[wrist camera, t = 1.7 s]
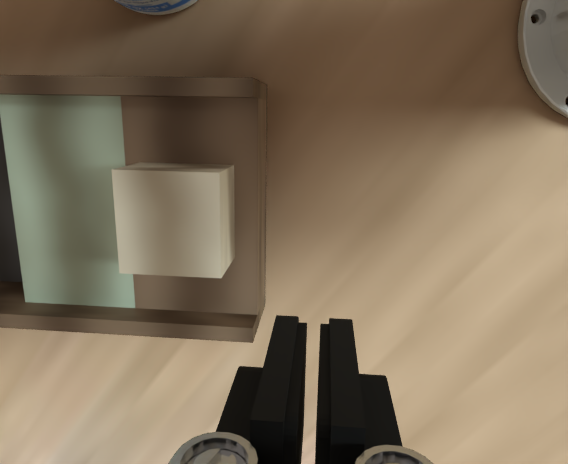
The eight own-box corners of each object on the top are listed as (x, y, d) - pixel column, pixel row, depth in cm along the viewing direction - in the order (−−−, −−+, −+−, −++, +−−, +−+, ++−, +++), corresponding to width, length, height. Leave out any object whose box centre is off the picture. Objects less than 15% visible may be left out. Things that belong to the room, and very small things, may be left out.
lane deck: (266, 85, 31) (252, 77, 25) (265, 304, 35) (252, 342, 29) (-77, 80, 33) (-164, 73, 27) (-41, 288, 37) (-110, 320, 31)
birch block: (234, 165, 28) (219, 172, 24) (234, 257, 30) (221, 278, 26) (140, 162, 29) (111, 169, 25) (146, 253, 30) (119, 273, 26)
